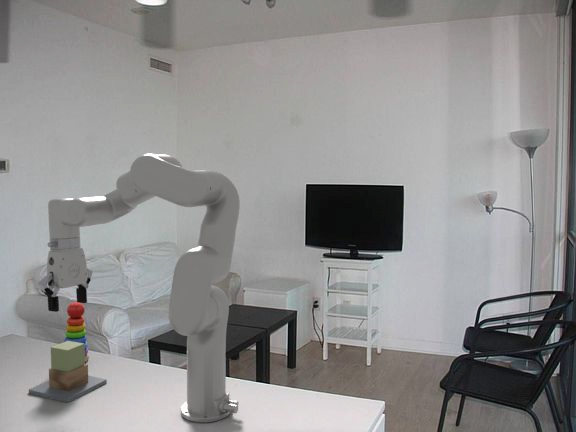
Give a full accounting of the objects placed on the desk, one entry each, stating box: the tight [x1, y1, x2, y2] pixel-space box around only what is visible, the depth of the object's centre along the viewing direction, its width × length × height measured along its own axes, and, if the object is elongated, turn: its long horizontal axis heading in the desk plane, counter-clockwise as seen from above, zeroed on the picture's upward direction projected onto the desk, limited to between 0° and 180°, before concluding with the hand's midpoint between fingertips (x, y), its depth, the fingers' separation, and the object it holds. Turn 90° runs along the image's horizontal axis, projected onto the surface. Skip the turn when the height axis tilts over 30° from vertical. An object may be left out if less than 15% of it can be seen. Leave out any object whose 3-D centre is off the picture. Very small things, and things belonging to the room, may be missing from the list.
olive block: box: [50, 341, 86, 372], centre depth 142 cm, size 6×6×6 cm
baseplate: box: [28, 375, 107, 404], centre depth 143 cm, size 14×14×1 cm
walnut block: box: [48, 363, 89, 391], centre depth 142 cm, size 7×7×5 cm
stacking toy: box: [63, 301, 90, 363], centre depth 162 cm, size 8×8×19 cm
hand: (68, 306), depth 141 cm, fingers open, 9 cm apart
